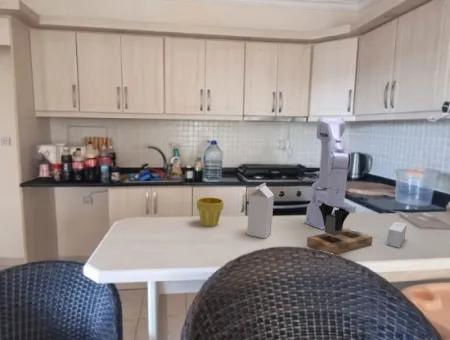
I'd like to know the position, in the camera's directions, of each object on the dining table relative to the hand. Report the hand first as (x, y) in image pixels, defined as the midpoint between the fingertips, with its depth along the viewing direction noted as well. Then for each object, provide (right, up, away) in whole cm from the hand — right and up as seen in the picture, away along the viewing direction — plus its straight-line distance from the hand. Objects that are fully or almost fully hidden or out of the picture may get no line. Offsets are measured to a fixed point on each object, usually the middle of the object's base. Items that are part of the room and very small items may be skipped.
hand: (332, 228), depth 107 cm
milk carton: (-23, -4, +11) cm, 26 cm away
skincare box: (+30, -3, +14) cm, 34 cm away
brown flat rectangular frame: (+4, -7, +4) cm, 9 cm away
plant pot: (-42, -2, +20) cm, 47 cm away
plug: (0, -2, +1) cm, 2 cm away
